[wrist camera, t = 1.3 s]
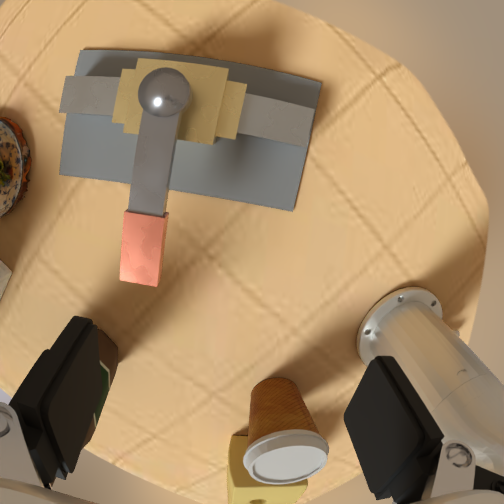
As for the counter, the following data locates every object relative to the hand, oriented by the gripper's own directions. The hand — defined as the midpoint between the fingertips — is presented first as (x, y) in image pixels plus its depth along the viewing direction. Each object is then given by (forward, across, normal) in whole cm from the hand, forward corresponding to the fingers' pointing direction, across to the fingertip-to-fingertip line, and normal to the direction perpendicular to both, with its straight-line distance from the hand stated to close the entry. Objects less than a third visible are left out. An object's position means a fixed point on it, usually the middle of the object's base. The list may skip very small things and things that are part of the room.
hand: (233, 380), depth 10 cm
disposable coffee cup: (+23, -10, +23) cm, 34 cm away
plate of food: (+23, +28, -2) cm, 37 cm away
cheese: (+24, -11, +37) cm, 45 cm away
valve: (+23, +6, -9) cm, 26 cm away
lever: (+15, +6, -4) cm, 16 cm away
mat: (+23, +6, -8) cm, 25 cm away
